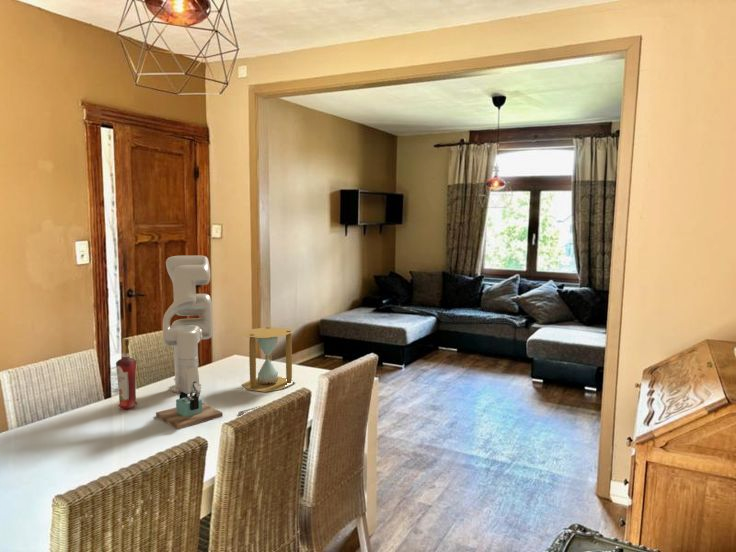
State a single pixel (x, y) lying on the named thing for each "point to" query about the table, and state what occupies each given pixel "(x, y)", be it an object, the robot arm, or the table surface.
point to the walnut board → (181, 421)
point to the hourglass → (268, 359)
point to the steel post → (187, 399)
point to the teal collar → (187, 408)
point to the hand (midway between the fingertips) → (189, 406)
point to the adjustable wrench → (245, 411)
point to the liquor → (126, 378)
